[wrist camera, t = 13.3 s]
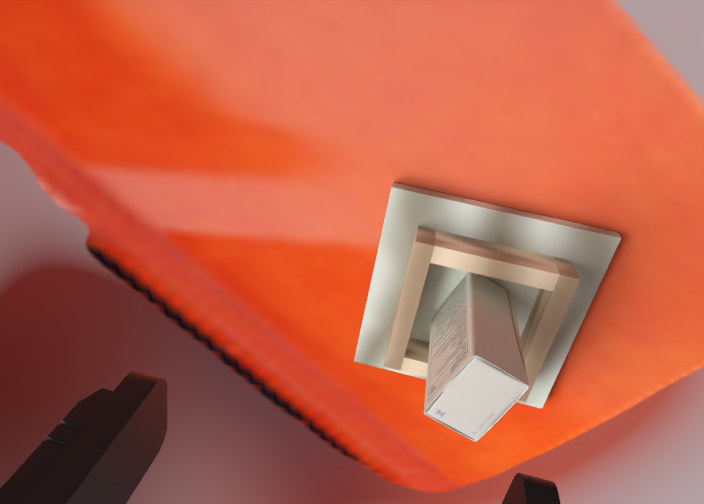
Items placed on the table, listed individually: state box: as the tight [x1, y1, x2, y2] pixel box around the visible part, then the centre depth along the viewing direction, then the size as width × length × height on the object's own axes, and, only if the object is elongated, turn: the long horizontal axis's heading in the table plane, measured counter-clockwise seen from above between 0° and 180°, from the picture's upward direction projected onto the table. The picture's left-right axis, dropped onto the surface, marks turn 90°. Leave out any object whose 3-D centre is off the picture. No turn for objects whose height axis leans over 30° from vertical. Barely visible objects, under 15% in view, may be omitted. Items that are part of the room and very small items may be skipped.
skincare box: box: [424, 272, 529, 441], centre depth 39 cm, size 6×4×12 cm
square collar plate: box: [354, 182, 621, 409], centre depth 44 cm, size 18×18×4 cm
